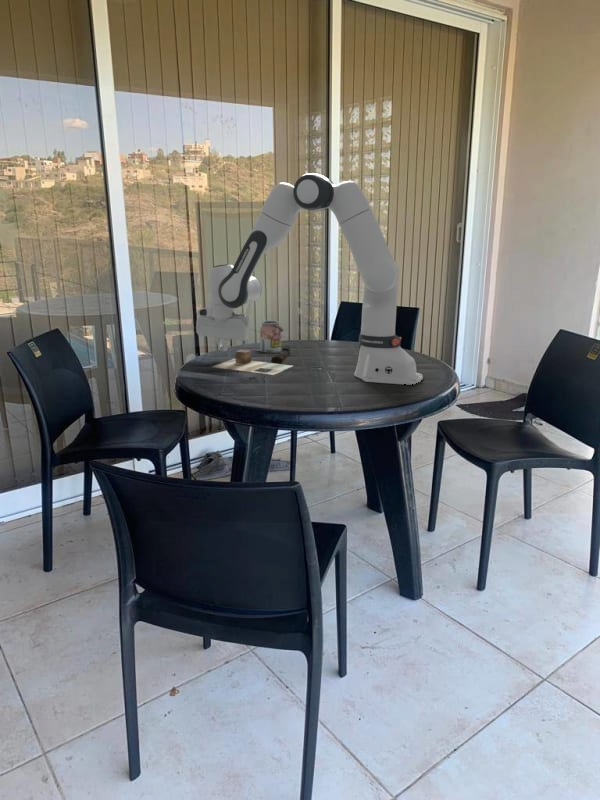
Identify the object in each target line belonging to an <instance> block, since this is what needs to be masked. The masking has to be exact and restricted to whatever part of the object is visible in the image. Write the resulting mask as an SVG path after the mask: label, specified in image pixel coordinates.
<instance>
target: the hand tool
mask: <svg viewBox="0 0 600 800" xmlns="http://www.w3.org/2000/svg"><path fill="white" fill-rule="evenodd" d="M290 355H291V347H290V345H285V346H283V347H281V351H280V352H279V353H277V355H275V356H272V357H271V360H270V361H271V362H270V363H275V364H282V363H283V362H284V361H285V360H286V359H287V357H289V356H290Z"/></svg>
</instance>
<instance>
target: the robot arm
mask: <svg viewBox="0 0 600 800" xmlns="http://www.w3.org/2000/svg"><path fill="white" fill-rule="evenodd" d="M263 203H264V204H263V205H262V208H261V209H260V212H259V215H258V217H257V219H256V222H255V224H254V226H253V228H252V230H251V233H250V234H249V235H248V238H247V239H246V242H245V244H244V245H243V247H242V249H241V252H240V253H239V255H238V257H237V259H236V261H235V262H234V265H233V264H231V263H226V264H225V263H224V264H218V265H214V266H212V268H211V269H210V272H209V283H208V285H209V286H208V287H209V289H208V290H209V294H210V298H209V299H210V300H209V306H208V305H207V306H206V307H203V308H199V309H197V311H196V314H197V316H198V317H197V318H196V321H195V322H196V324H195V325H196V326H195V329H196V330H195V332H196V334H197V335H198V336H200V337H206V338H207V337H209V338H214V341H215V342H216V345H217V350H218V351H225V352H227V351H228V347H229V344H230V343H231V340H237V341H247V340H249V338H250V336H251V335H250V326H249V321H250V320H249V317H248V315H247V314H246V313H244V312H243V313H239V312H236V309H238V308H241V307H242V306H244V305H248V304H251V303H253V302H256V301H257V300H259V299H260V296H261V295H262V291H263V290H262V289H263V287H262V284H261V282H260V280H259V278H257V277H255V276H254V275H253V274H254V271H255V269H256V267H257V265H258V264H259V262H260V260H261V258H262V257H263V256H264V255H265V254H267V253H268V252H270V250H273V249H274V248H276V247H278V246H280V245H281V244H283V242H284V240H286V238H287V236H288V235H289V234H290V233H289V232H290V231H291V230H292V229H291V228H292V227H293V224H294V222H295V220H296V218H297V216H298V214H299V213H300V212H301V211H303V210H305V211H310V212H321V211H325V210H330V211H331V212H332V213H333V215H334V216H335V218H336V220H337V222H338V225H339V227H340V230H341V231H342V234H343V236H344V238H345V241H346V242H347V245H348V247H349V250H350V252H351V255H352V257H353V261H354V263H355V265H356V268H357V270H358V272H359V275H360V277H361V280H362V283H363V286H364V287H363V298H362V306H361V308H362V309H361V325H360V333H359V337H358V350H359V353H358V359H357V363H356V367H355V372H354V373H353V375H354V377H356V378H358V379H361V380H362V381H363V382H365V383H366V382H367V383H379V384H391V385H392V384H394V385H404V384H406V385H409V386H411V385H412V384H413V385H416V383H417V384H419V383H421V382H422V381H423V377H424V375H423V374H422V373H419V372H417V365H416V364H417V363H416V361H415V358H414V357H412V356H411V354H409V353H408V352H407V351H406V350H404V349H403V348H402V347H401V341H402V336H398V335H397V334H396V325H397V323H396V322H397V304H398V291H399V290H398V289H399V279H400V278H399V276H400V275H399V274H400V269H399V267H398V263H397V262H396V261H395V260H394V258H393V256H392V253H391V251H390V248H389V246H388V244H387V242H386V241H387V240H386V239H385V236H384V234H383V231H382V229H381V227H380V225H379V223H378V220H377V218H376V216H375V213H374V212H373V208H372V207H371V204H370V203H369V200H368V198H367V197H366V194H365V193H364V192H363V191H362V189H361V187H360V186H359V185H358V184H357V183H356V182H355V181H352V180H347V181H342V182H340V183H338V184H335V183H334V182H333V181H332V179H330V178H329V177H327V176H324V175H322V174H319V173H313V172H312V173H311V172H310V173H305V174H303V175H301V176H300V177H299V178H298V179H296V181H295V183H294V185H293V184H290V183H288V182H279V183H277V184H276V185H274V186H273V188H272V190H271V191H270V192H269V194H268V196H267V198H266V200H265V202H263ZM222 340H223V341H224V344H223V343H222ZM421 380H422V381H421ZM418 382H419V383H418Z"/></svg>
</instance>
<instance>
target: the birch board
mask: <svg viewBox="0 0 600 800" xmlns="http://www.w3.org/2000/svg"><path fill="white" fill-rule="evenodd" d="M292 367H293V365H292V364H291V365H289V364H284V363H283V364H282V363H275V362H265V361H256V360H251V362H249V363H247V364H242V363H236V358H232V359H229V360H226V361H224V362H221V363H218V364H215V365H213V366H211V368H216V369H224V370H232V371H239V372H245V373H246V372H247V373H249V372H250V373H257V374H262V375H270V376H271V375H272V376H275V375H277V374H279V373H282V372H284V371H285V370H288V369H290V368H292ZM259 369H263V370H270V371H267V372H263V371H256V370H259ZM293 371H294V369H291V370H288V371H286V372H285V373H283V374H280V375H277V376H275V377H274V378H273V380H275V378H276V379H278V378H280V377H283V376H284V375H287V374H288V373H290V372H293ZM279 376H280V377H279ZM277 377H278V378H277Z"/></svg>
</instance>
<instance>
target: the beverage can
mask: <svg viewBox="0 0 600 800" xmlns="http://www.w3.org/2000/svg"><path fill="white" fill-rule="evenodd" d="M259 329H260V330H259V331H260V333H259V334H260V335H259V338H260V342H259V343H260V344H259V346H260V347H259V349H260V352H262V353H271V354H279V353H280V352H281V351H282V333H283V332H284V331H285V329H284V328H283V327H282V326H281V325H280V322H279V321H277V320H263V321H262V323H261V327H260V328H259Z"/></svg>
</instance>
